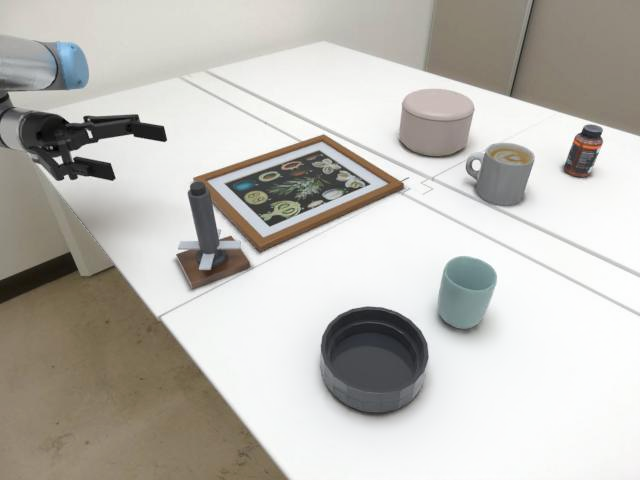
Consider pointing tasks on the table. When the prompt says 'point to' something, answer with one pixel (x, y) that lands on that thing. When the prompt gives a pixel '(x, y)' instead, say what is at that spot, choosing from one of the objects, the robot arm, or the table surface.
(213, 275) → the board
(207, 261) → the blade
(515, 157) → the coffee mug
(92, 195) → the table surface
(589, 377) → the table surface
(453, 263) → the cup
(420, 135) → the container
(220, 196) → the wall art
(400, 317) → the processor bowl
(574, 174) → the supplement bottle
